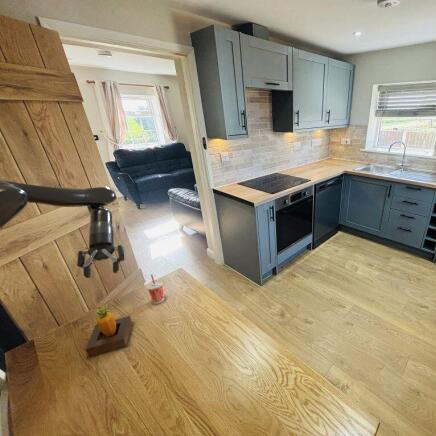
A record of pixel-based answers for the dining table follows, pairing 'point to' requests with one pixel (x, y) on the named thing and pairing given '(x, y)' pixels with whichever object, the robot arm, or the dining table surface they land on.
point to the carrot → (106, 322)
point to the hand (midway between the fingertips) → (101, 275)
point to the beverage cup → (155, 290)
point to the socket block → (112, 343)
